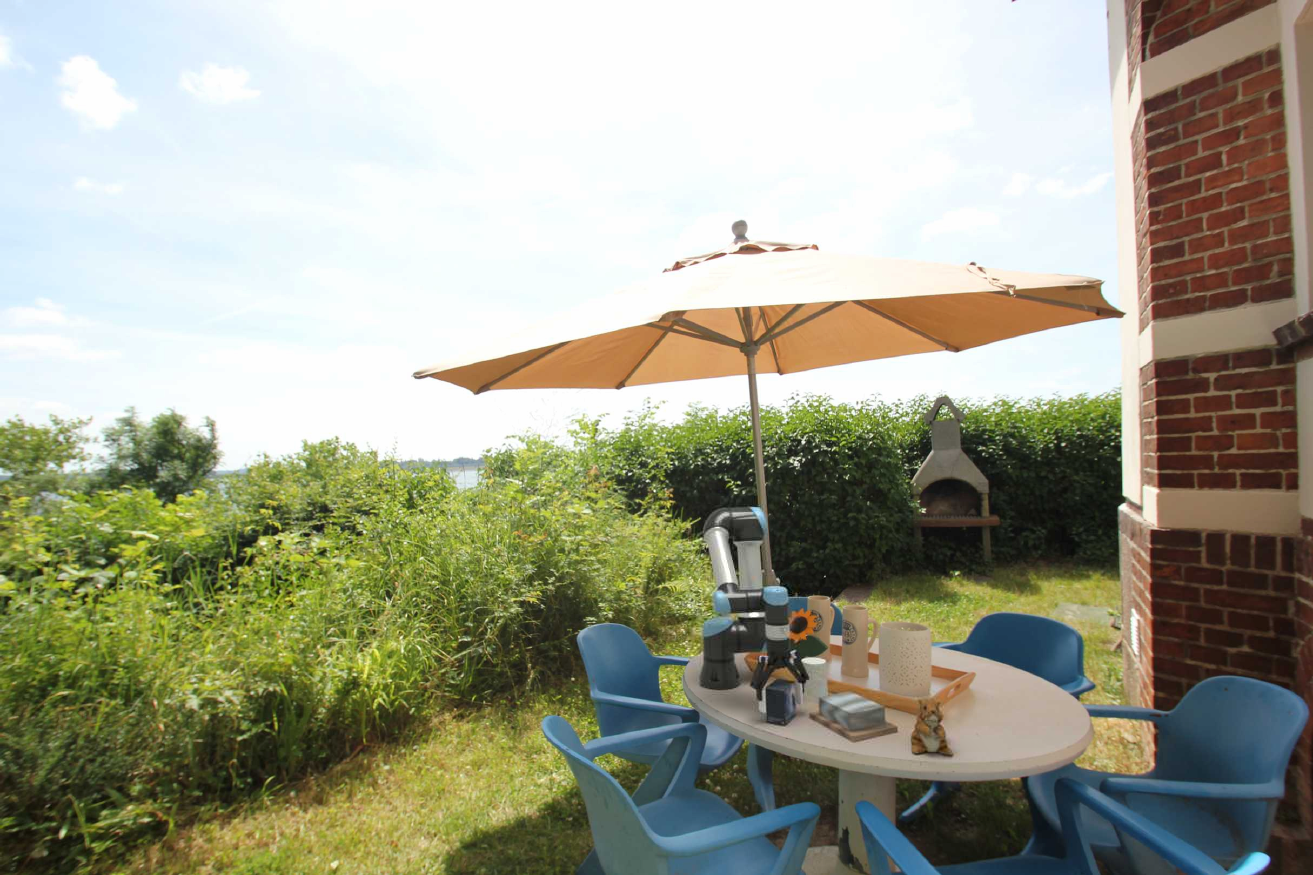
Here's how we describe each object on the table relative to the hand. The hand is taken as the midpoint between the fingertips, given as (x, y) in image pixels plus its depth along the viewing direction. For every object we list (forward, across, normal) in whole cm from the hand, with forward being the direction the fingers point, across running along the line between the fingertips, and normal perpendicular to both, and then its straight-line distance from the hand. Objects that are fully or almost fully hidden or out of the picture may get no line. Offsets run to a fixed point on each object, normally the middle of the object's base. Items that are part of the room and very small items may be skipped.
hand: (781, 707), depth 179 cm
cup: (+4, +21, +11) cm, 24 cm away
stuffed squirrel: (+4, +24, -34) cm, 42 cm away
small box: (+4, 0, 0) cm, 4 cm away
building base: (+3, +16, -13) cm, 21 cm away
